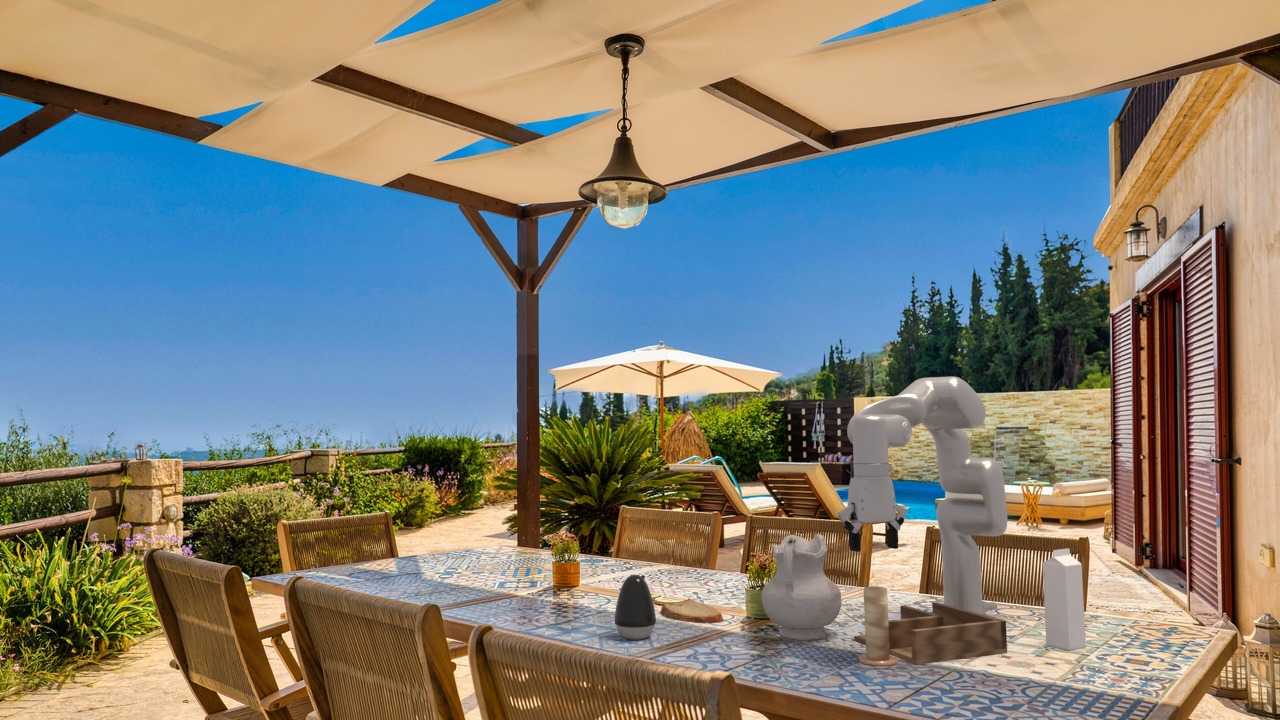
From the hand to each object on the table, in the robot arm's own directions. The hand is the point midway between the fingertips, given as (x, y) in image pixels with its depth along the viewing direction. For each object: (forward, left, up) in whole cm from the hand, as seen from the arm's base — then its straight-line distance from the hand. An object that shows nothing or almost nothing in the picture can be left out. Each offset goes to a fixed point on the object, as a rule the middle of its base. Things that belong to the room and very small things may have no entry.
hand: (874, 549), depth 195 cm
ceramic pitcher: (+3, -27, -24) cm, 36 cm away
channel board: (-18, -6, -24) cm, 31 cm away
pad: (0, 0, -24) cm, 24 cm away
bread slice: (+18, -59, -25) cm, 67 cm away
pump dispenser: (+41, -42, -24) cm, 64 cm away
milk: (-47, +6, -24) cm, 53 cm away
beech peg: (0, 0, -23) cm, 23 cm away
